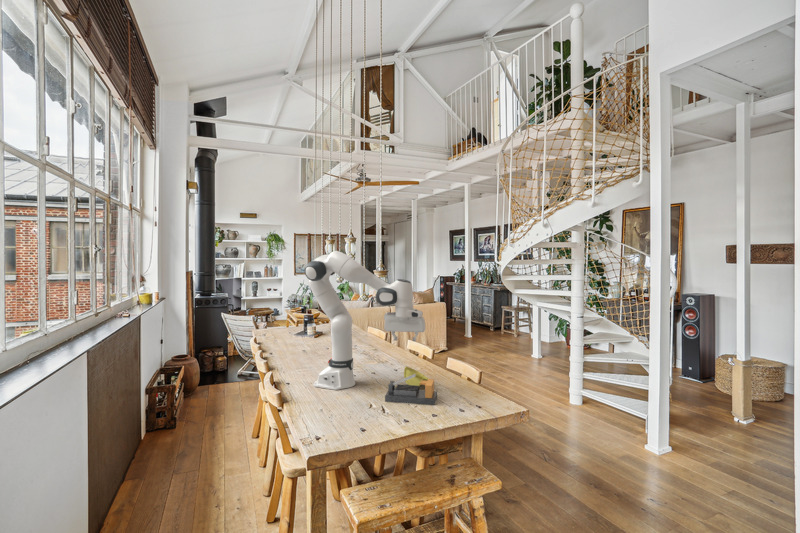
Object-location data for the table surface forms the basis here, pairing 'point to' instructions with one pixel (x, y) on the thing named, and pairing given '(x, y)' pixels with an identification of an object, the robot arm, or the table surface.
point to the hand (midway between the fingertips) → (404, 340)
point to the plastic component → (416, 379)
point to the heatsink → (408, 395)
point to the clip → (428, 387)
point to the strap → (404, 379)
